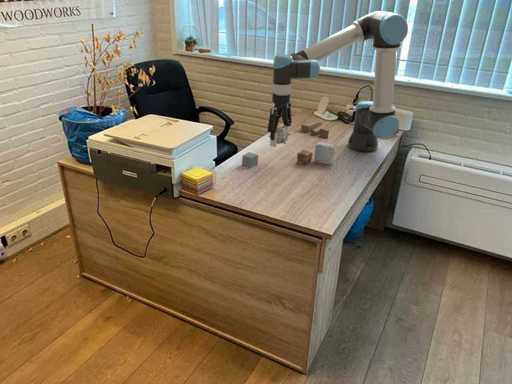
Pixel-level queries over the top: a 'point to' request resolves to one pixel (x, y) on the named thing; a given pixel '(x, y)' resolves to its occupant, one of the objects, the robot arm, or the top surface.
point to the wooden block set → (315, 128)
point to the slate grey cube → (250, 160)
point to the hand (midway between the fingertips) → (279, 143)
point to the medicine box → (324, 153)
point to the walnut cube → (304, 157)
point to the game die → (281, 135)
